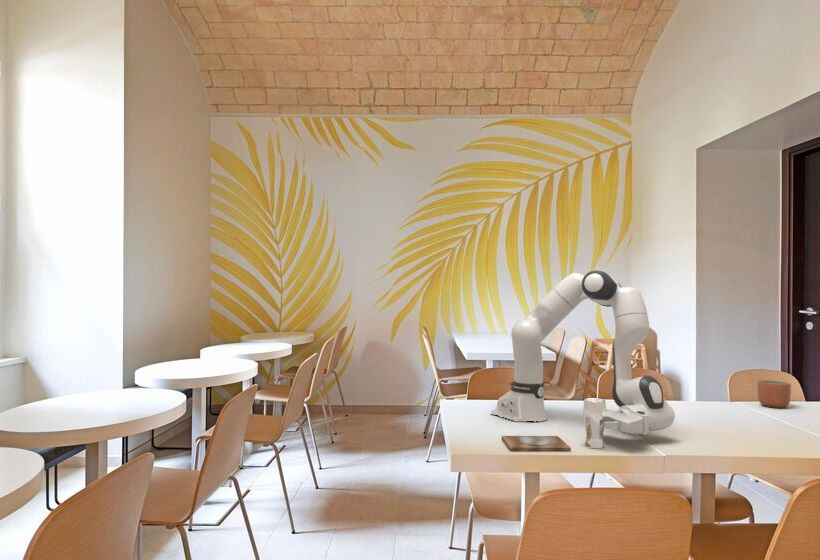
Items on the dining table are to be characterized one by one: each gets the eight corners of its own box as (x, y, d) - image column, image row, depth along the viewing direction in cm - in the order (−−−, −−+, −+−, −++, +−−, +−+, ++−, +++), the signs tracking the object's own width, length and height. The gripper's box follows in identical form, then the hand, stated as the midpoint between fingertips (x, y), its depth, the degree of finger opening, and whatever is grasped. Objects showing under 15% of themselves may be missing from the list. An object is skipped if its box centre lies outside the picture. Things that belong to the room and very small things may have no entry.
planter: (797, 410, 242) (797, 384, 242) (768, 409, 242) (768, 384, 242) (779, 404, 254) (779, 379, 254) (751, 403, 254) (751, 379, 254)
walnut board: (510, 451, 174) (510, 446, 174) (501, 439, 188) (501, 434, 188) (570, 451, 175) (570, 446, 175) (557, 439, 189) (557, 435, 189)
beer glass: (579, 443, 184) (580, 397, 185) (600, 443, 185) (600, 397, 185) (588, 449, 177) (588, 402, 178) (609, 449, 178) (609, 401, 178)
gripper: (609, 403, 196) (575, 405, 191) (651, 416, 176) (615, 418, 172) (609, 421, 195) (575, 423, 191) (651, 436, 176) (615, 439, 172)
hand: (594, 421), depth 181 cm, fingers open, 8 cm apart
